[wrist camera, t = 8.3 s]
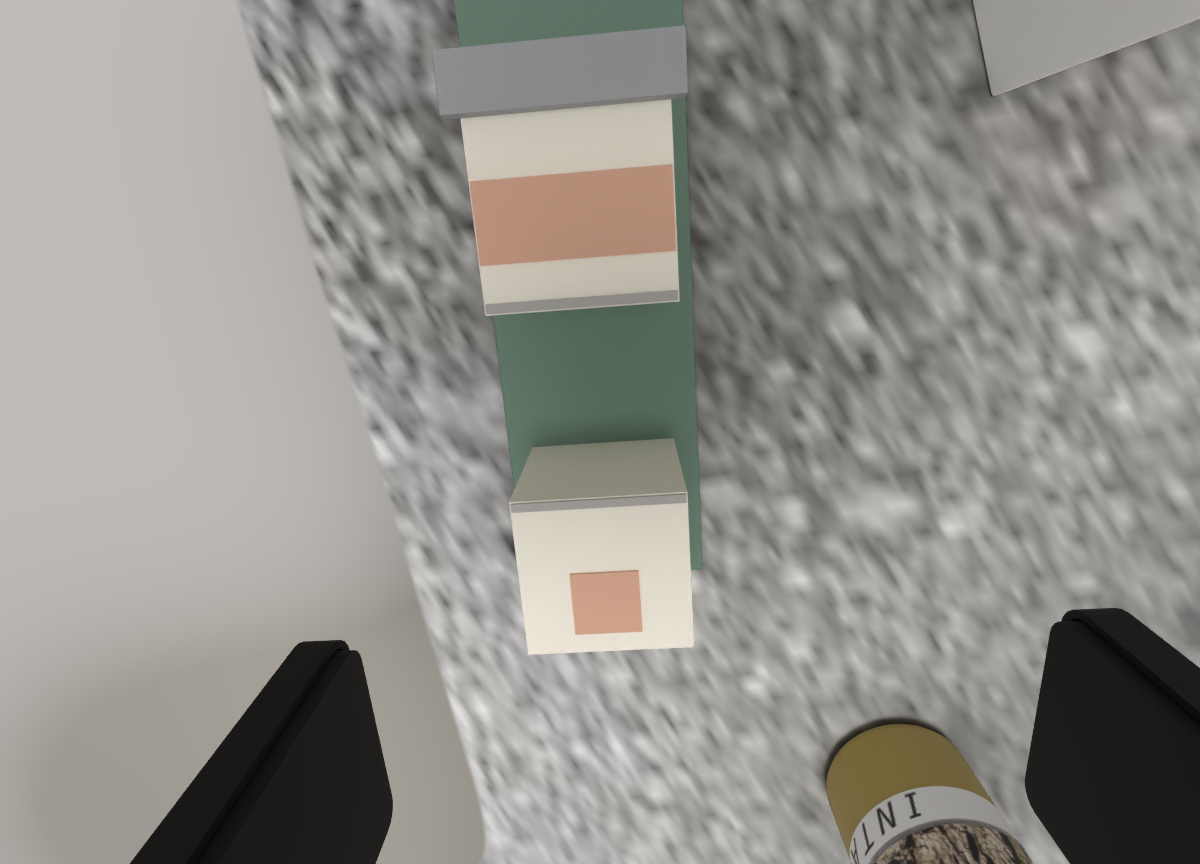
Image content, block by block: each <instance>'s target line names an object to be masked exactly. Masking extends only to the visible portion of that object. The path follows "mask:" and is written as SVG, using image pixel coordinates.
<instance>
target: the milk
mask: <svg viewBox="0 0 1200 864" xmlns="http://www.w3.org/2000/svg"><path fill="white" fill-rule="evenodd" d="M973 5H974V10H975V15H976V20H977V25H978V30H979V35H980V40H981V45H982V50H983V55H984V60H985V65H986V70H987V75H988V80H989V85H990V90H991V94H992V95H993V96H996V95H999V94H1002V93H1005V92H1007V91H1010V90H1013V89H1015V88H1018V87H1021V86H1023V85H1026V84H1029V83H1031V82H1034V81H1037V80H1039V79H1042V78H1045V77H1047V76H1050V75H1053V74H1055V73H1058V72H1061V71H1063V70H1066V69H1069V68H1071V67H1074V66H1077V65H1079V64H1082V63H1084V62H1087V61H1090V60H1092V59H1095V58H1098V57H1100V56H1103V55H1106V54H1108V53H1111V52H1114V51H1116V50H1119V49H1122V48H1124V47H1127V46H1130V45H1132V44H1135V43H1138V42H1140V41H1143V40H1146V39H1148V38H1151V37H1154V36H1156V35H1159V34H1161V33H1164V32H1167V31H1169V30H1172V29H1175V28H1177V27H1180V26H1183V25H1185V24H1188V23H1191V22H1193V21H1196V20H1199V19H1200V0H973Z"/></svg>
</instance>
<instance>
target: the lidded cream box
mask: <svg viewBox="0 0 1200 864" xmlns="http://www.w3.org/2000/svg"><path fill="white" fill-rule="evenodd" d="M431 51H432V59H433V66H434V74H435V81H436V89H437V96H438V103H439V111H440V116H442V117H443V118H445V119H446V120H449V119H460V118H461V126H462V134H463V142H464V150H465V158H466V166H467V174H468V182H469V190H470V197H471V205H472V213H473V221H474V229H475V237H476V245H477V253H478V261H479V268H480V276H481V284H482V292H483V300H484V308H485V316H492V315H505V314H518V313H532V312H545V311H558V310H572V309H585V308H599V307H612V306H625V305H639V304H652V303H665V302H679V301H680V299H679V275H678V251H677V226H676V202H675V178H674V154H673V129H672V105H671V99H679V98H686V96H687V94H688V78H687V49H686V25H683V26H673V27H662V28H652V29H642V30H632V31H621V32H611V33H601V34H591V35H580V36H570V37H560V38H550V39H539V40H529V41H519V42H509V43H498V44H488V45H478V46H468V47H457V48H447V49H437V50H431Z"/></svg>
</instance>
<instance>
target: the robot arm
mask: <svg viewBox="0 0 1200 864" xmlns="http://www.w3.org/2000/svg"><path fill="white" fill-rule="evenodd" d="M1025 788H1026V793H1027V797H1028V800H1029V802H1030V805H1031V807H1032V809H1033V810H1034V812H1035V814H1036V815H1037V817H1038V818H1039V819H1040V821H1041V822H1042V824H1043V825H1044V827H1045V828H1046V830H1047V831H1048V832H1049V834H1050V835H1051V837H1052V838H1053V840H1054V841H1055V842H1056V844H1057V845H1058V847H1059V848H1060V850H1061V851H1062V853H1063V854H1064V855H1065V857H1066V858H1067V860H1068V861H1069V863H1070V864H1200V668H1199V667H1198V666H1196V665H1195V664H1194V663H1193V662H1191V661H1190V660H1189V659H1187V658H1186V657H1185V656H1184V655H1182V654H1181V653H1180V652H1178V651H1177V650H1176V649H1175V648H1173V647H1172V646H1171V645H1169V644H1168V643H1167V642H1166V641H1164V640H1163V639H1162V638H1161V637H1159V636H1158V635H1157V634H1155V633H1154V632H1153V631H1152V630H1150V629H1149V628H1148V627H1146V626H1145V625H1144V624H1143V623H1141V622H1140V621H1139V620H1137V619H1136V618H1135V617H1134V616H1132V615H1131V614H1130V613H1128V612H1126V611H1124V610H1123V609H1118V608H1104V609H1080V610H1071V611H1068V612H1067V613H1066V614H1065V615H1064V616H1063V618H1062V621H1061V622H1057V623H1055V624H1054V625H1053V626H1052V628H1051V631H1050V636H1049V642H1048V647H1047V653H1046V659H1045V665H1044V671H1043V677H1042V682H1041V688H1040V694H1039V700H1038V706H1037V712H1036V717H1035V723H1034V729H1033V735H1032V741H1031V747H1030V752H1029V758H1028V764H1027V770H1026V776H1025ZM392 810H393V800H392V794H391V789H390V785H389V780H388V776H387V771H386V767H385V762H384V758H383V753H382V749H381V744H380V740H379V735H378V731H377V726H376V722H375V717H374V713H373V708H372V704H371V699H370V695H369V690H368V686H367V681H366V677H365V672H364V668H363V663H362V659H361V657H360V654H359V653H358V651H355V650H352V651H351V650H349V647H348V645H347V644H346V642H345V641H342V640H331V641H308V642H301V643H299V644H298V645H297V646H295V647H294V649H293V650H292V651H291V653H290V654H289V655H288V656H287V658H286V659H285V661H284V662H283V663H282V664H281V666H280V667H279V668H278V670H277V671H276V672H275V674H274V675H273V676H272V677H271V679H270V680H269V681H268V683H267V684H266V685H265V687H264V688H263V689H262V691H261V692H260V693H259V695H258V696H257V697H256V698H255V700H254V701H253V703H252V704H251V705H250V706H249V708H248V709H247V710H246V712H245V713H244V714H243V716H242V717H241V718H240V720H239V721H238V722H237V724H236V725H235V726H234V728H233V729H232V730H231V731H230V733H229V734H228V735H227V737H226V738H225V739H224V741H223V742H222V743H221V745H220V746H219V747H218V748H217V750H216V751H215V753H214V754H213V755H212V757H211V758H210V759H209V760H208V762H207V763H206V764H205V766H204V767H203V768H202V769H201V771H200V772H199V773H198V775H197V776H196V777H195V779H194V780H193V781H192V783H191V784H190V785H189V787H188V788H187V789H186V791H185V792H184V793H183V794H182V796H181V797H180V798H179V800H178V801H177V802H176V804H175V805H174V806H173V808H172V809H171V810H170V811H169V813H168V814H167V816H166V817H165V818H164V819H163V821H162V822H161V823H160V825H159V826H158V827H157V829H156V830H155V831H154V833H153V834H152V835H151V836H150V838H149V839H148V841H147V842H146V843H145V845H144V846H143V847H142V848H141V850H140V851H139V852H138V854H137V855H136V856H135V857H134V859H133V860H132V861H131V863H130V864H376V861H377V858H378V856H379V853H380V851H381V848H382V845H383V843H384V840H385V837H386V835H387V832H388V830H389V826H390V823H391V818H392Z"/></svg>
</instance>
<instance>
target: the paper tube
mask: <svg viewBox="0 0 1200 864" xmlns="http://www.w3.org/2000/svg"><path fill="white" fill-rule="evenodd" d="M826 790H827V796H828V800H829V804H830V807H831V809H832V812H833V815H834V817H835V820H836V823H837V826H838V828H839V831H840V834H841V837H842V839H843V842H844V845H845V848H846V850H847V853H848V856H849V859H850V861H851V864H1034V863H1033V862H1032V860H1031V859H1030V857H1029V856H1028V854H1027V853H1026V851H1025V850H1024V848H1023V846H1022V845H1021V843H1020V842H1019V840H1018V839H1017V837H1016V836H1015V834H1014V833H1013V831H1012V830H1011V828H1010V827H1009V825H1008V824H1007V822H1006V821H1005V819H1004V818H1003V816H1002V815H1001V813H1000V812H999V811H998V809H997V808H996V806H995V805H994V803H993V802H992V800H991V799H990V797H989V796H988V794H987V793H986V791H985V790H984V788H983V787H982V785H981V784H980V782H979V780H978V779H977V777H976V776H975V774H974V773H973V771H972V770H971V768H970V767H969V765H968V764H967V762H966V761H965V759H964V758H963V756H962V755H961V753H960V752H959V751H958V749H957V748H956V747H955V746H954V745H953V744H952V743H951V742H950V741H949V740H948V739H946V738H945V737H943V736H942V735H940V734H938V733H936V732H934V731H931V730H929V729H926V728H923V727H920V726H915V725H909V724H889V725H883V726H879V727H875V728H872V729H869V730H867V731H864V732H862V733H861V734H859V735H857V736H855V737H854V738H852V739H851V740H850V741H848V742H847V743H846V744H845V745H844V746H843V747H842V748H841V749H840V750H839V752H838V753H837V755H836V756H835V758H834V760H833V761H832V764H831V766H830V769H829V772H828V775H827V781H826Z"/></svg>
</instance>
